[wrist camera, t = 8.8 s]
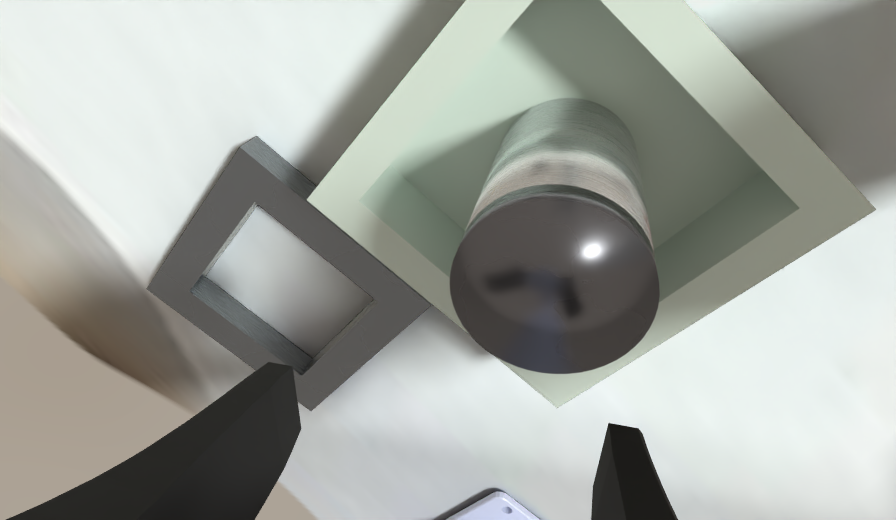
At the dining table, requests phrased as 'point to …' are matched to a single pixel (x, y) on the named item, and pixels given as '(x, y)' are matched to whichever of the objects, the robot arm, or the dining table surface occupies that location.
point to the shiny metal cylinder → (559, 244)
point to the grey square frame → (285, 198)
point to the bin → (651, 125)
